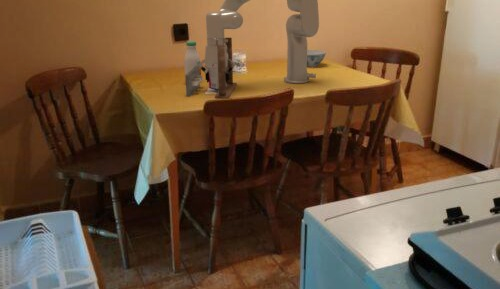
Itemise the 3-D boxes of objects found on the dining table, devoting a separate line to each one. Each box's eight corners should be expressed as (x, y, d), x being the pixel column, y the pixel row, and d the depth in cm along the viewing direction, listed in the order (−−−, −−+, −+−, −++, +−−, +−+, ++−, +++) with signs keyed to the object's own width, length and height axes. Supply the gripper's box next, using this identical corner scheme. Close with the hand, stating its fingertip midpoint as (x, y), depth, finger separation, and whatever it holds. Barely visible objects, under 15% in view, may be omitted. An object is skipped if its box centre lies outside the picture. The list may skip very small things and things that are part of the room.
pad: (230, 90, 207) (230, 88, 206) (226, 95, 197) (226, 94, 197) (208, 89, 208) (208, 87, 207) (204, 95, 199) (204, 93, 198)
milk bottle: (194, 85, 215) (192, 43, 208) (182, 83, 219) (179, 42, 211) (204, 82, 221) (202, 41, 214) (192, 80, 225) (189, 40, 218)
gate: (236, 84, 213) (235, 37, 205) (228, 98, 190) (227, 46, 182) (224, 84, 213) (222, 37, 205) (214, 98, 191) (212, 45, 183)
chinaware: (294, 64, 260) (295, 50, 258) (319, 62, 264) (319, 49, 261) (303, 69, 247) (304, 55, 244) (329, 67, 250) (329, 53, 247)
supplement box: (227, 87, 202) (226, 62, 198) (217, 90, 198) (216, 64, 194) (218, 85, 206) (217, 60, 201) (208, 88, 202) (207, 62, 197)
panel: (205, 86, 213) (204, 65, 209) (195, 98, 194) (194, 75, 191) (196, 86, 213) (195, 65, 209) (186, 98, 195) (185, 75, 191)
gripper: (237, 40, 197) (238, 80, 203) (198, 40, 199) (200, 79, 205) (234, 43, 190) (235, 84, 196) (194, 43, 192) (196, 83, 198)
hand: (217, 81), depth 201 cm, fingers closed on supplement box, 7 cm apart
